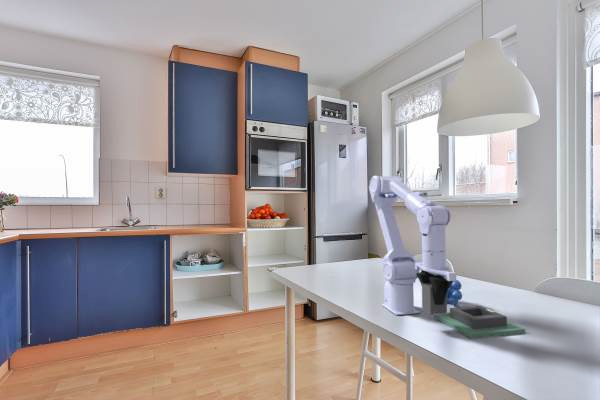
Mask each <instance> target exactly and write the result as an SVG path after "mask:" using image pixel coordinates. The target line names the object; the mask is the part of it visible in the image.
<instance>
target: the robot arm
mask: <svg viewBox="0 0 600 400" xmlns="http://www.w3.org/2000/svg"><path fill="white" fill-rule="evenodd" d="M368 190H369V194H370V197H371V201H372V203H374V206H375V209H376V213H377V216H378V221H379V224H380V228H381V232H382V235H383V238H384V243H385V246H386V249H387V253H386V254H385V255H384V256H383V258H382V259H381V262H382V273H383V276H384V278H385V279H386V282H385V283H384V288H383V289H384V293H383V294H384V303H382V304H381V305H382V307H384V308H385V309H387V310H389V312H391V313H393V314H394V315H395V316H402V315H403V316H405V315H414V314H420V312H421V311H420V310H418V309H416V308H415V306H414V305H415V303H414V299H415V298H414V293H415V292H414V284H415V283H416V280H417V279H418V281H419V282H420V285H421V286H422V284H423V283H431V284H432V288H433V293H434V301H435V304H436V305H444V301H445V297H446V294H447V291H448V289H449V287H450V285H451V284H452V282H453V281H456V280H457V272H455V271H453V270H451V269H450V267H449V266H447V265H446V264H447V263H446V260H447V259H446V258H447V257H446V256H447V255H446V250H447V249H446V226H448V225H449V224H450V221H451V213H450V210H449V209H448V207H446V205H444V204H436V203H435V202H434V201H433V200H432V199H431V200H430V199H429V198H428V197H426V196H425V193H424V192H422V191H413V190H411V188H409V187H408V186H407V185H406V183H405V181H404V179H403V178H402V177H400V176H398V175H396V176H392V175H391V176H389V175H388V176H387V175H386V176H383V175H382V176H379V175H373V176H372V177H371V179H370V180H369V186H368ZM398 198H400V199H401V200H402V201H404V205H405V207H406V208H407V210H409V211H410V212H411V213H412V214H414V216H416V220H417V221H416V222H417V224H418V225H419V232H420V233H421V249H422V250H421V256H422V257H421V260H422V261H420V262H419V261H418V262H417V261H416V260H415V257H414V255H413V254H412V253H411V252H410V251H408V250H407V249H405V246H404V243H403V242H404V241H403V240H402V237H401V234H400V230H399V227H398V222H397V220H396V216H395V213H394V210H393V209H394V208H393V204H395V203H397V201H398ZM452 271H453V272H452Z"/></svg>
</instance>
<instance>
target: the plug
mask: <svg viewBox="0 0 600 400" xmlns="http://www.w3.org/2000/svg"><path fill="white" fill-rule="evenodd" d="M421 306H422V307H421V310H422V311H424V312H426V313H428V314H429V315H436V314H448V303H447V294H446V297H445V301H444V305H436V304H435V301H434V293H433V288H432V284H431V283H423V284H422V285H421Z"/></svg>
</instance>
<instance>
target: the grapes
mask: <svg viewBox="0 0 600 400" xmlns="http://www.w3.org/2000/svg"><path fill="white" fill-rule="evenodd" d="M451 271H452V272H454V270H451ZM461 289H462V282H461V281H459V280H458V279H456V281H453V282H452V284H451V285H450V287H449V289H448V291H447V304H451V305H453V306H457V305H458V304H459V301H460V300H462V298H463V294H462V292H461V291H460V290H461Z"/></svg>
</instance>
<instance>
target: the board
mask: <svg viewBox="0 0 600 400" xmlns="http://www.w3.org/2000/svg"><path fill="white" fill-rule="evenodd" d="M434 319H436V320H437V321H439V322H441V323H443V324H445V325H446V326H448V327H450V328H452V329H453V330H455V331H457V332H459V333H461V334H462V335H464V336H466V337H467V338H469V339H480V338H489V337H498V336H501V337H502V336H508V335H518V334H526V328H525V327H521V326H519V325H517V324H515V323H512V322H510V321H508V320H507V319H508V316H507V315H503V314H501V313H499V312H497V311H495V310H492V309H489V308H487V307H485V306H483V305H470V306H460V307H459V306H458V307H457V306H455V307H449V313H448V312H447V313H440V314H434Z"/></svg>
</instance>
